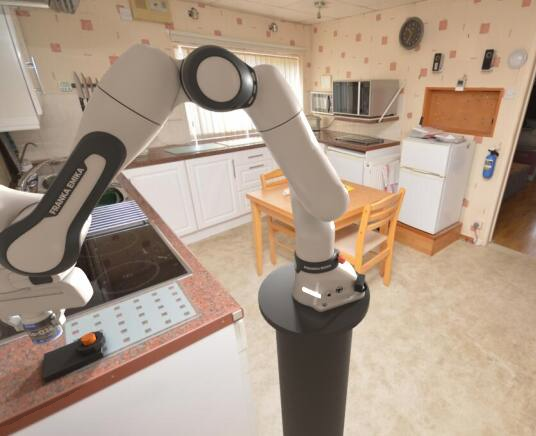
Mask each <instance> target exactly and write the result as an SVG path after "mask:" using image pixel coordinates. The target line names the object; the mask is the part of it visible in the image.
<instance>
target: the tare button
mask: <svg viewBox="0 0 536 436" xmlns="http://www.w3.org/2000/svg"><path fill="white" fill-rule="evenodd" d="M82 336H83V337H82ZM82 336H81V337H82V338H81V337H80V338H81V341H82V343H83V345H84V346H88V345H90V344H92V343H94V342H95V341H96V337H95V335H94V333H91V332H87V333H85V334H84V335H82Z"/></svg>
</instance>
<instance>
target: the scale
mask: <svg viewBox="0 0 536 436" xmlns="http://www.w3.org/2000/svg"><path fill="white" fill-rule="evenodd" d="M90 333H94V335H95V337H96V341H95V342H94V343H92V344H90V345H88V346H84V345H83V343H82V341H81V338H82V337H83V336H84V335H81V336H80V338H78V339H77V340H75V341H73V342H71V343H67V344H65V345H63V346H60V347H58V348H55V349H53V350H51V351H48V352H46V353H45V352H44V353H43V371H42V379H43V381H44V382H45V383H48V382H50V381H53V380H55V379H57V378H59V377H62V376H63V375H65V374H68V373H70V372H73V371H75V370H77V369H79V368H82V367H84V366H87V365H88V364H90V363H93V362H95V361H98V360H100V359H102V358H104V357H105V354H104V345H105V343H106V341H107V339H106V336H105V334H104V333H103V332H102V331H99V330H96V331H91V332H90Z"/></svg>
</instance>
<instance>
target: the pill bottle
mask: <svg viewBox="0 0 536 436" xmlns="http://www.w3.org/2000/svg"><path fill="white" fill-rule="evenodd" d="M54 315H55V314H53V313H52V311H47V312H40V313H30V312H28V313H22V315H19V316H20V317H21V323H22V325H23V326H24V328H25V331H26V334H27V335H28V337H29V339H30V340H31V342H32V343H33V344H34V345H36V346H42V345H43V346H44V345H47V344H50V343H52V342H54V341H55V340H57V339H59V337H60V336H62V333H63V331H64V330H63V328H62V325H58V326H53V325H52V323H51V321H50V320H51V319H52V318H53V317H54Z"/></svg>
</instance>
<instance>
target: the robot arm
mask: <svg viewBox="0 0 536 436" xmlns="http://www.w3.org/2000/svg"><path fill="white" fill-rule="evenodd" d="M299 101H300V100H299V99H298V97H297V96H296V94H295V92H294V91H293V88H292V87H291V85H290V84H289V82H288V80H287V79H286V78H285V77H284V75H283V74H282V72H281V71H280V70H279V68H277V67H276V66H275V65H272V64H267V63H265V64H263V63H262V64H257V65H254V66H250V65H249V64H248V63H247V62H245V61H244V60H242V59H241V58H240V57H238V55H236V54H235V53H233V52H232V51H230V50H228V49H226V48H225V47H222V46H220V45H214V44H206V45H205V44H203V45H201V46H198V47H196V48H194V49H192V51H190V52H189V53H188V54H187V55H186V56H185V57H184V58H181V59H178V58H174V57H173V56H170V55H169V54H168V53H167V52H165V51H163V50H162V49H160V48H158V47H156V46H154V45H150V44H147V43H135V44H133V45H131V46H130V47H129V48H127V49H126V50H125V51H124V52H123V53H121V55H119V57H118V58H117V59H116V60H115V61H114V62H113V63H112V64H111V65H110V67H108V69H107V70H106V72H105V73H104V74H103V75H102V77H100V80H99V81H98V82H97V84H96V85H95V87H94V89H93V91H92V92H91V94H90V96H89V98H88V100H87V103H86V105H85V107H84V109H83V112H82V115H81V118H80V121H79V123H78V127H77V129H76V134H75V135H74V138H73V142H72V145H71V148H70V151H69V153H68V155H67V157H66V160H65V161H64V164H63V166H62V167H61V169H60V170H59V172H58V173H57V174H56V176H55V177H54V179H53V181H52V182H51V183H50V185H49V186H48V188H47V190H46V191H45V192H44V193H38V192H37V193H36V192H29V191H23V190H17V189H13V188H11V187H10V188H9V187H8V186H5V185H3V184H0V321H1V322H2V323H5V324H7V325H9V326H11V327H13V328H14V330H15V331H16V332H24V331H26V330H25V328H24V326H23V325H22V323H21V318H22V317H21V316H20V315H22V313H28V312H30V313H40V312H47V311H52V313H53V314H55V315H54V317H53V318H52V319H51V320H50V321H51V323H52V325H53V326H58V325H61V326H63V325H64V324H65V322H66V316H65V311H66V310H68V309H74V308H75V309H76V308H83V307H85V306H86V305H87V304H88V303H89V301H90V300H91V298H92V296H93V295H94V288H93V286H92V285H91V282H90V280H89V278H88V277H87V275H86V273H85V272H84V271H83V270H82V269H81V268H79V267H77V266H76V264H77V262H78V259H79V258H80V254H81V250H82V246H83V244H84V241H85V239H86V237H87V235H88V232H89V230H90V227H91V224H92V222H93V214H92V213H93V211H94V210H95V209H96V207H97V205H98V203H99V202H100V201H101V199H102V197H103V196H104V194H105V193H106V191H107V190H108V188H109V187H110V185H111V184H112V183H113V182H114V180H115V179H116V178H117V177H118V176H119V175H120V174H121V173H122V171H124V170H125V169H126V167H128V166H129V165H130V164H131V163H132V162H133V161H134V160H135V159H136V158H138V156H139V155H141V153H142V152H143V151H144V150H145V149H146V148H147V147H148V146H149V145H150V144H151V143H152V142H153V141H154V139H155V138H156V137H157V135H158V134H159V133H160V132H161V130H162V129H163V127H164V126H165V124H166V123H167V121H168V120H169V118H170V116H171V115H172V113H173V112H174V111H175V110H176V109H177V108H178V107H179V106H180V105H182V104H186V103H193V104H195V105H196V106H198V107H199V108H201V109H203V110H206V111H210V112H214V113H230V112H233V111H237V110H243V111H244V112H245V113H246V114H247V115H248V117H249V118H250V120H251V122H252V123H253V125H254V127H255V129H256V131H257V132H258V134H259V136H260V137H261V140H262V141H263V143H264V145H265V146H266V148H267V149H268V151H269V153H270V155H271V156H272V158H273V160H274V161H275V164H276V165H277V166H278V168H279V169H280V172H281V173H282V174H283V176H284V178H285V180H287V184H288V190H289V199H290V206H291V212H292V219H293V223H294V237H295V238H294V239H295V240H294V241H295V249H294V253H293V254H294V255H293V261H294V268H295V278H294V282H293V286H292V289H291V293H292V296H293V297H294V299H295V300H296V301H298V302H299V303H301V304H304V305H307V306H310V307H312V308H314V309H315V310H317V311H319V312H323V311H326V310H329V309H332V308H335V307H338V306H341V305H344V304H347V303H350V302H353V301H356V300H359V299H362V298H363V297H364V295H365V291H366V290H367V285H368V284H367V285H366V283H367V282H366V283H365V281H366V274H364V273H359V272H358V275H357V274H356V272H355V271H356V269H355V268H354V267H353V265H352V264H351V263H350V262H349V261H347V260H346V258H345V256H344V255H343V254H341V251H340V250H339V248H337V246H336V244H335V242H336V241H335V239H336V238H335V237H336V227H335V221H338V220H339V219H341V218H342V217H343V216H344V215H345V214H346V213H347V211H348V209H349V206H350V202H351V200H350V199H351V198H350V194H349V191H348V190H347V188H346V187H345V185H344V184H343V182H342V180H341V178H340V176H339V174H338V172H337V171H336V169H335V167H334V166H333V164H332V162H331V160H330V159H329V158H328V156H327V154H326V152H325V150H324V149H323V148H322V146H321V144H320V142H319V141H318V140H317V137H316V135H315V133H314V131H313V129H312V126H311V125H310V122H309V120H308V118H307V115H306V114H305V112H304V110H303V107H302V105H301V103H300V102H299Z"/></svg>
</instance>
